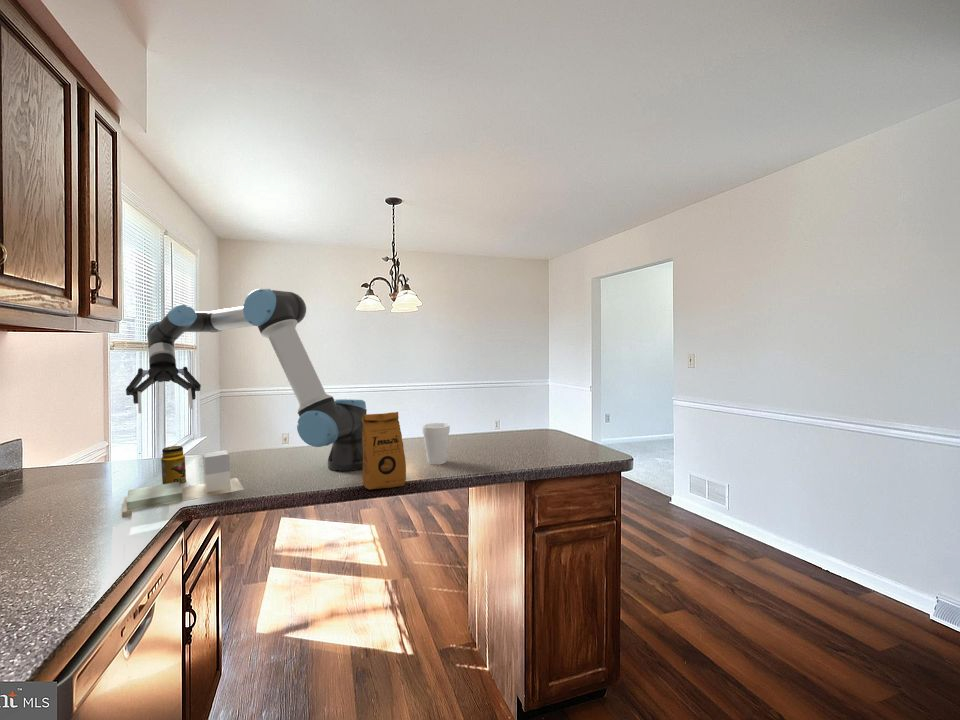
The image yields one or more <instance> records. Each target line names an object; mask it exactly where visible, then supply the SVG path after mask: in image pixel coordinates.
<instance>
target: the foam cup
mask: <svg viewBox="0 0 960 720" xmlns="http://www.w3.org/2000/svg"><path fill="white" fill-rule="evenodd" d="M450 429H451V428H450V424H449V423H445V422H430V423H425V424H422V435H423V440H424V441H423V442H424V447H425V452H426V460H427V463H428V464H429V465H435V466H436V465H443V464H445V463H447V453H448V443H449V435H450Z"/></svg>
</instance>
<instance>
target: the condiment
mask: <svg viewBox="0 0 960 720" xmlns="http://www.w3.org/2000/svg"><path fill="white" fill-rule="evenodd" d="M161 451H162V454H161V456H162V457H161V459H160V461H161V478H162V480H161V481H162V482H161V483H162V485H163V484H169V483H175V482H180V485H181V484H184V483H186V482H187V472H186V470H187V469H186V456H185V454H184V447H183V446H182V445H181V446H180V445H173V446H171V445H170V446H167V447H164V448H163V449H162V450H161Z"/></svg>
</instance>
